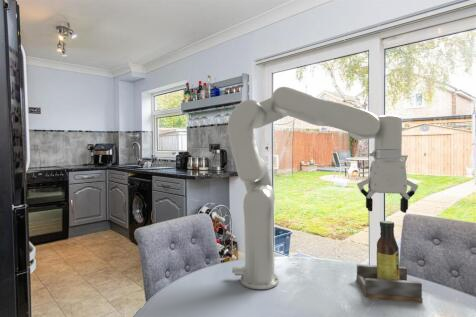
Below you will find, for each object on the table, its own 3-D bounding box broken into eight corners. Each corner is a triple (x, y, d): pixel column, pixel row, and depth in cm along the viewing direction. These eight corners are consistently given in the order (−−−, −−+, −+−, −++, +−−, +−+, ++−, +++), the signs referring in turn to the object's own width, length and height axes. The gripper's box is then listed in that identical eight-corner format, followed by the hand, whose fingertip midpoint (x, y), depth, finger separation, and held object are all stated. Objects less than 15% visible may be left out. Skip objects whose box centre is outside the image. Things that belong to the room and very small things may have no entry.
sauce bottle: (402, 291, 91) (402, 224, 90) (379, 289, 92) (379, 224, 92) (395, 282, 97) (395, 220, 97) (374, 281, 98) (374, 219, 98)
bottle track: (366, 298, 89) (366, 280, 89) (356, 279, 103) (356, 263, 103) (422, 302, 86) (422, 284, 86) (404, 282, 100) (404, 266, 100)
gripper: (360, 155, 92) (359, 212, 92) (423, 156, 89) (422, 215, 89) (355, 155, 99) (354, 208, 99) (413, 156, 96) (412, 210, 96)
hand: (386, 211), depth 94 cm, fingers open, 9 cm apart
